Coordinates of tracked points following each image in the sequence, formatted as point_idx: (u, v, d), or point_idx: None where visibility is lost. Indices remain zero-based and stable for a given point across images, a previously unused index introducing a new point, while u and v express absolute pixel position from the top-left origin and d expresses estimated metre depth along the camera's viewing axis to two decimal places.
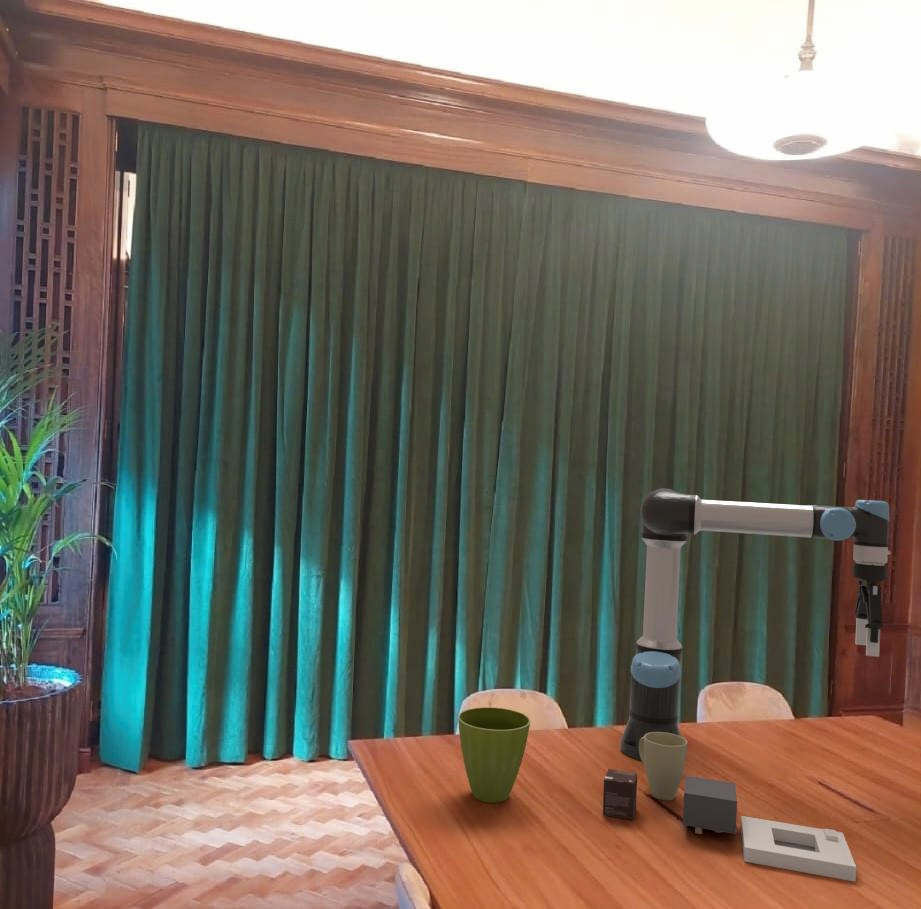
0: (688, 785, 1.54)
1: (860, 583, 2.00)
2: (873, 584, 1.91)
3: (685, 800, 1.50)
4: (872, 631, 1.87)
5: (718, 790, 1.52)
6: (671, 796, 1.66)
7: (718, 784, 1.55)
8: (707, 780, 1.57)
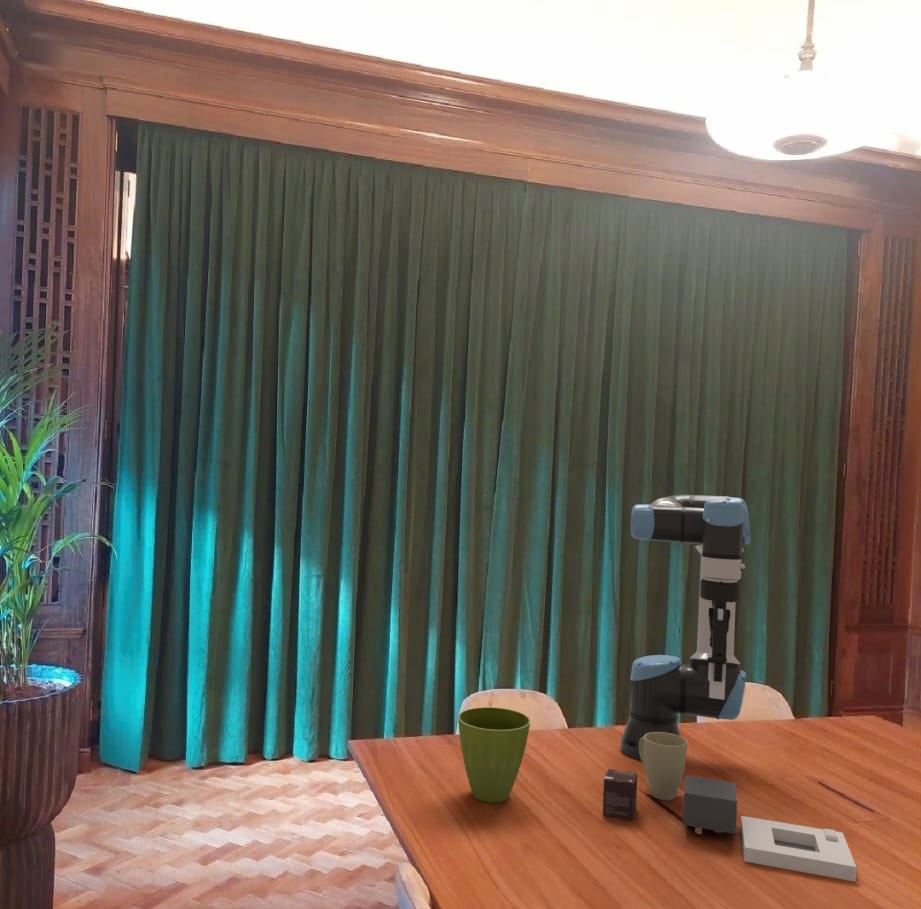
0: (688, 785, 1.54)
1: (713, 604, 1.60)
2: (721, 606, 1.51)
3: (685, 800, 1.50)
4: (715, 667, 1.46)
5: (718, 790, 1.52)
6: (671, 796, 1.66)
7: (718, 784, 1.55)
8: (707, 780, 1.57)
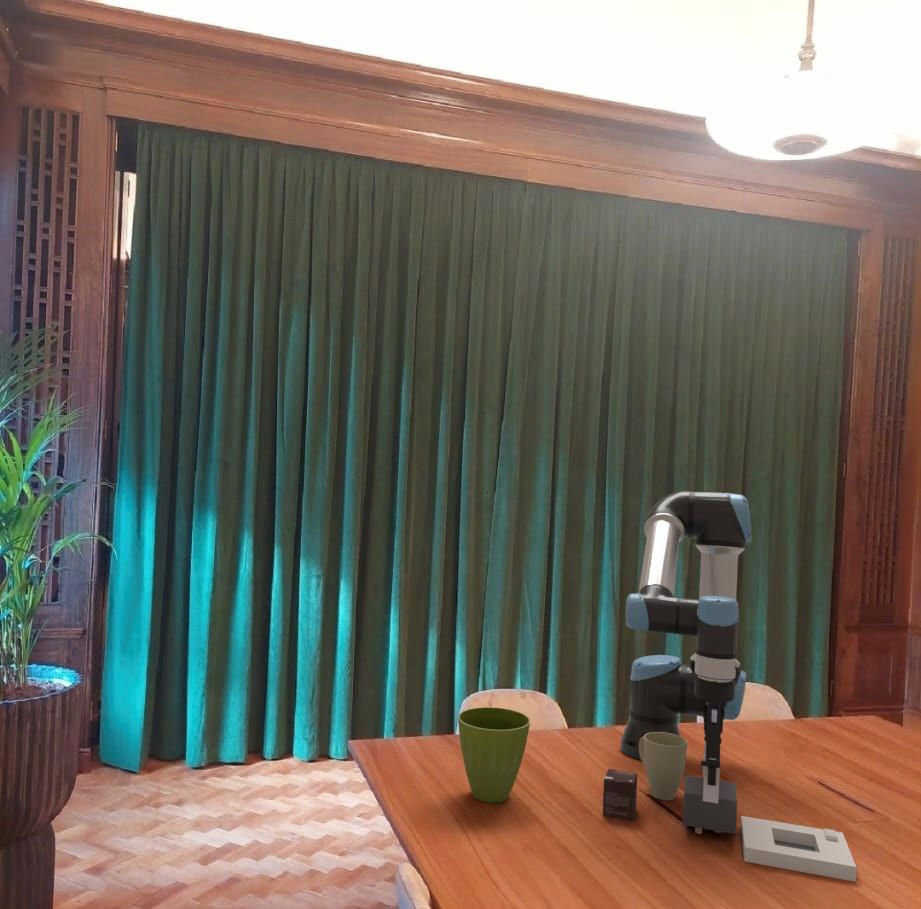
0: (688, 785, 1.54)
1: None
2: (715, 707, 1.50)
3: (685, 800, 1.50)
4: (709, 770, 1.46)
5: None
6: (671, 796, 1.66)
7: None
8: None
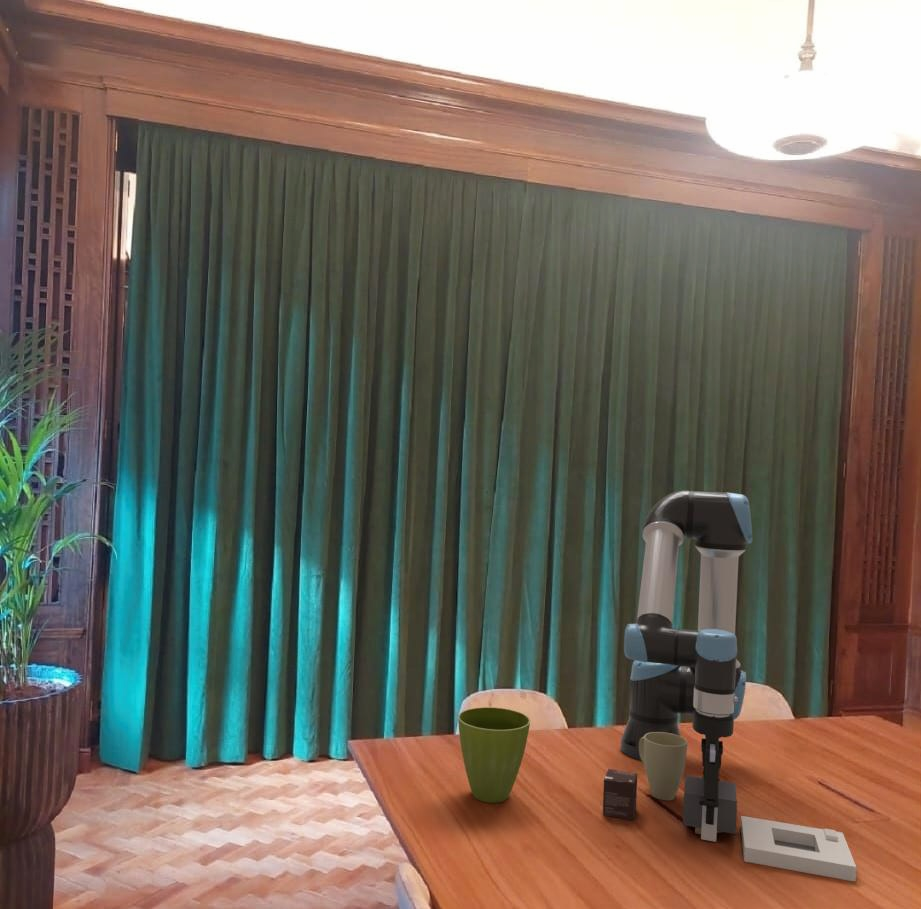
0: (688, 785, 1.54)
1: None
2: (713, 742, 1.50)
3: (685, 800, 1.50)
4: (707, 810, 1.47)
5: (718, 790, 1.52)
6: (671, 796, 1.66)
7: (718, 784, 1.55)
8: None
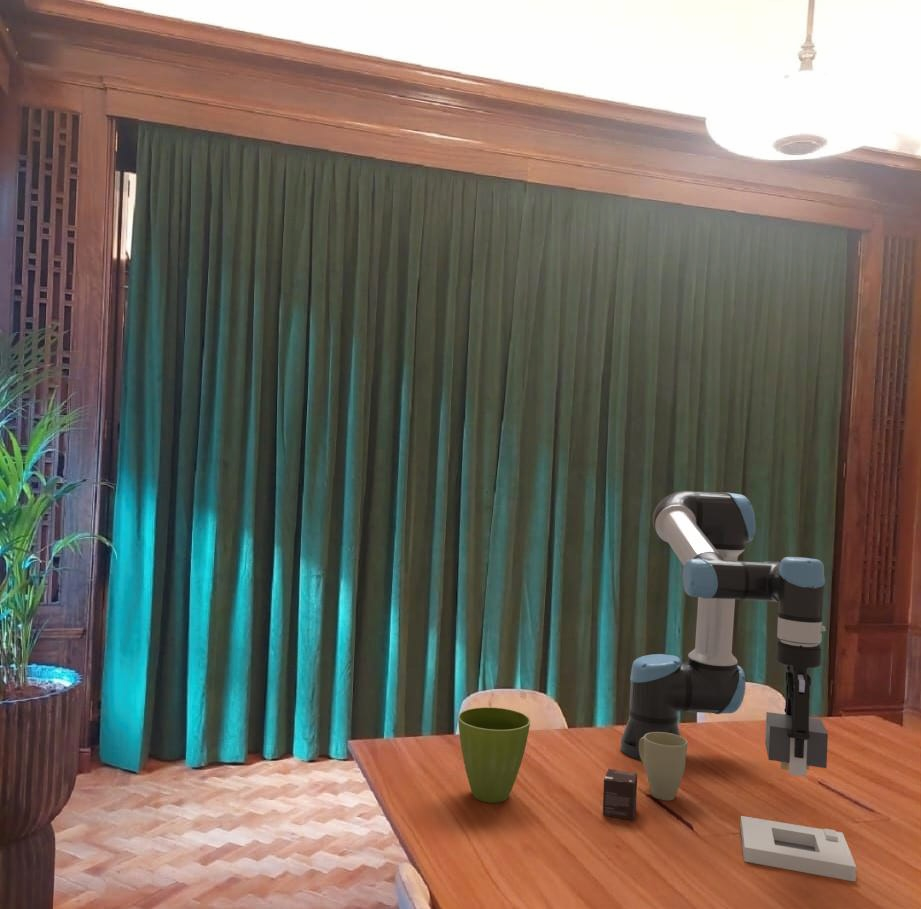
0: (772, 720, 1.46)
1: (789, 669, 1.52)
2: (801, 672, 1.42)
3: (771, 734, 1.42)
4: (796, 742, 1.39)
5: None
6: (671, 796, 1.66)
7: None
8: (790, 716, 1.49)
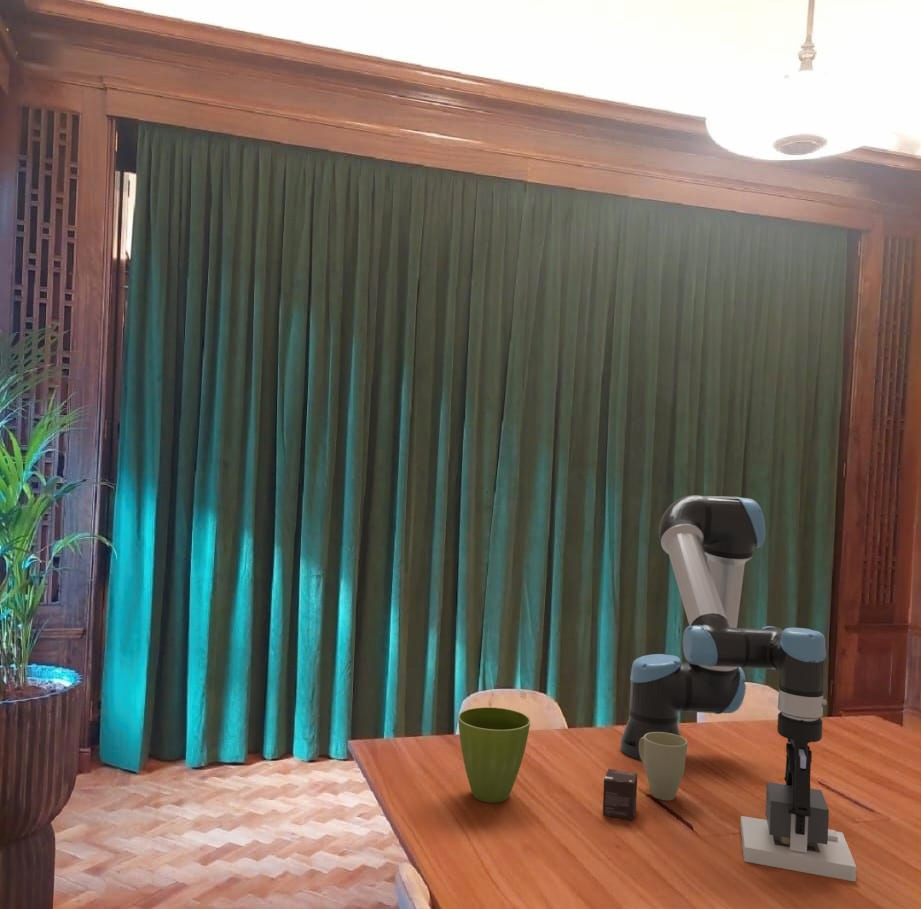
0: (773, 792, 1.46)
1: (789, 739, 1.51)
2: (802, 747, 1.42)
3: (772, 808, 1.42)
4: (797, 819, 1.39)
5: None
6: (671, 796, 1.66)
7: None
8: (791, 787, 1.49)
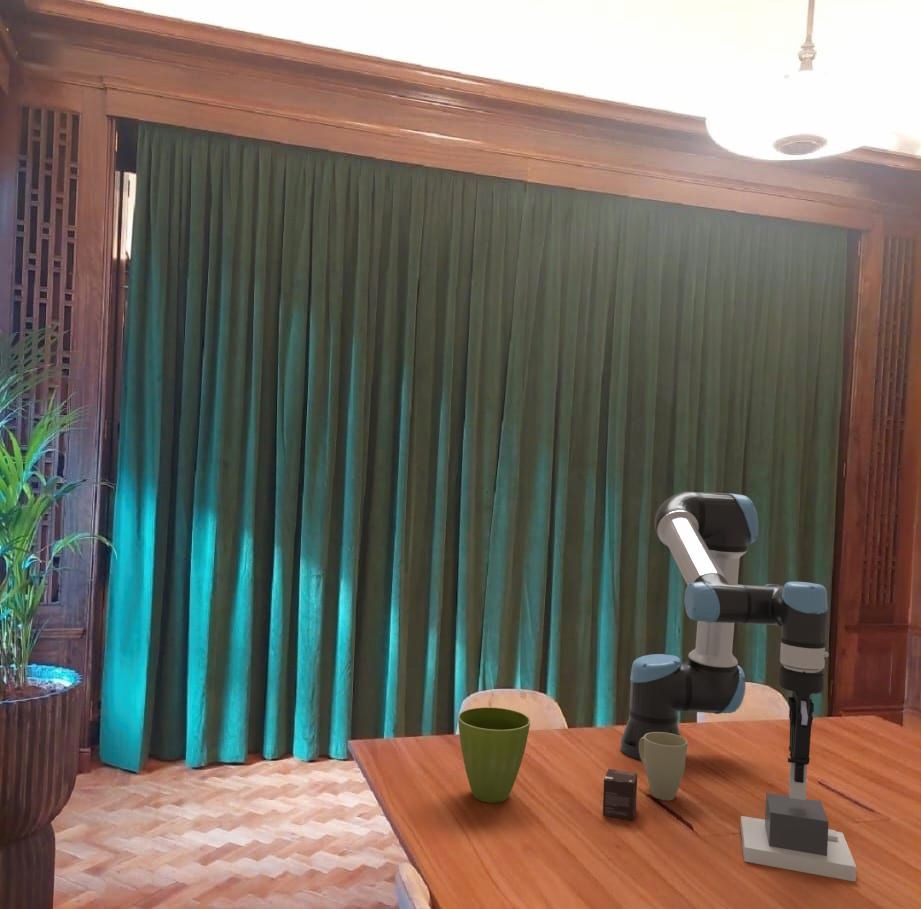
0: (772, 803, 1.46)
1: None
2: (804, 698, 1.42)
3: (772, 820, 1.42)
4: (796, 767, 1.44)
5: (805, 809, 1.44)
6: (671, 796, 1.66)
7: (804, 802, 1.47)
8: (790, 798, 1.49)
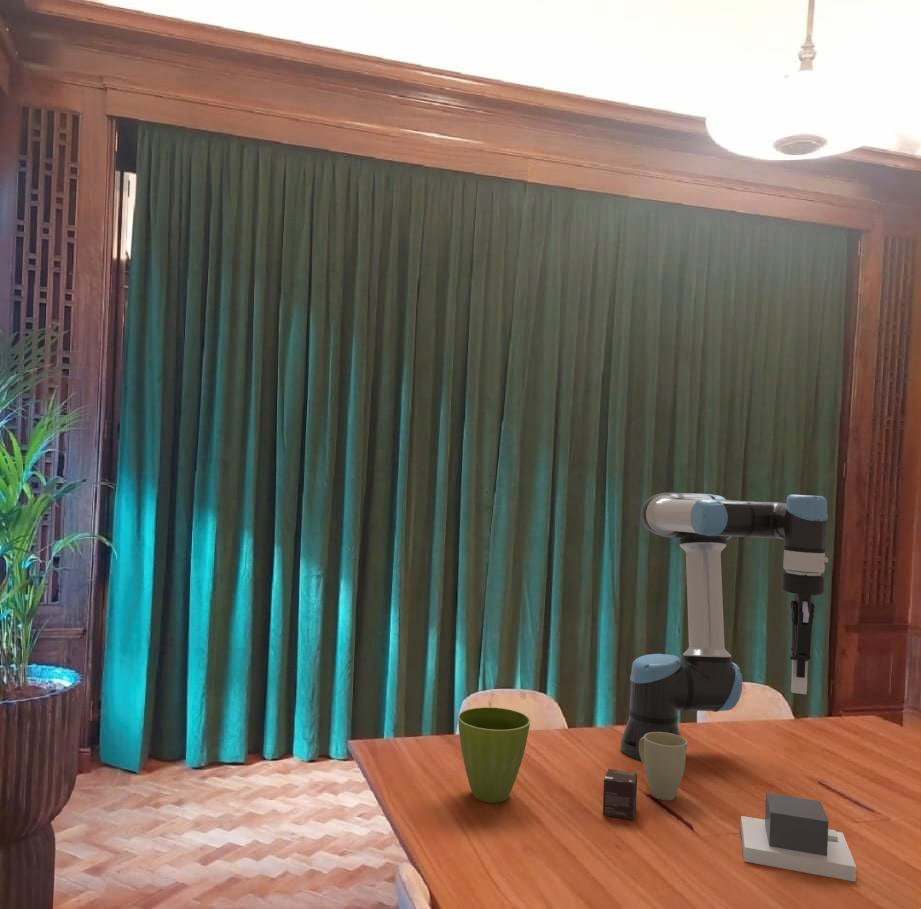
0: (772, 803, 1.46)
1: None
2: (806, 599, 1.54)
3: (772, 820, 1.42)
4: (798, 663, 1.55)
5: (805, 809, 1.44)
6: (671, 796, 1.66)
7: (804, 802, 1.47)
8: (790, 798, 1.49)
